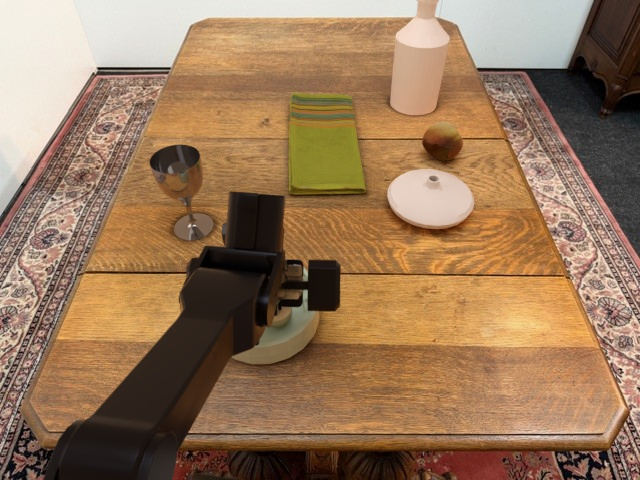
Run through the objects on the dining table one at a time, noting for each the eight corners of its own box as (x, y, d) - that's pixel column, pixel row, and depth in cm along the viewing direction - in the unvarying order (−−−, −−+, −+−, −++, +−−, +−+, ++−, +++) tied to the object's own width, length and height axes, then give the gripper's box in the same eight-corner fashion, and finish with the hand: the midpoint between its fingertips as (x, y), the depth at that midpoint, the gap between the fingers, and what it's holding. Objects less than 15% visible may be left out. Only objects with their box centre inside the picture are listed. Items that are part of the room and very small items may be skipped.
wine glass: (207, 244, 83) (189, 175, 72) (164, 239, 84) (140, 171, 73) (221, 214, 88) (207, 146, 77) (181, 210, 89) (161, 142, 78)
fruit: (459, 170, 97) (467, 136, 91) (418, 165, 98) (424, 132, 92) (459, 149, 102) (466, 116, 96) (420, 145, 103) (425, 112, 98)
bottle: (440, 116, 112) (462, 4, 94) (390, 115, 112) (402, 4, 94) (434, 91, 120) (452, -16, 102) (387, 91, 120) (397, -16, 103)
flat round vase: (378, 229, 85) (382, 199, 80) (392, 176, 95) (396, 147, 90) (468, 245, 82) (477, 214, 77) (472, 189, 92) (481, 159, 87)
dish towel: (351, 102, 117) (352, 90, 114) (367, 194, 92) (368, 181, 89) (289, 104, 116) (288, 91, 114) (288, 197, 91) (286, 184, 89)
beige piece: (296, 321, 69) (291, 262, 60) (264, 331, 68) (254, 272, 59) (286, 297, 72) (280, 237, 63) (256, 305, 71) (245, 246, 62)
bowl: (298, 379, 64) (297, 360, 61) (191, 349, 68) (183, 329, 64) (332, 289, 75) (332, 268, 72) (238, 267, 79) (233, 246, 75)
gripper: (342, 217, 50) (340, 221, 66) (169, 214, 51) (208, 219, 67) (340, 321, 50) (339, 301, 66) (168, 317, 51) (207, 298, 67)
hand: (273, 278), depth 66 cm, fingers closed on beige piece, 2 cm apart
